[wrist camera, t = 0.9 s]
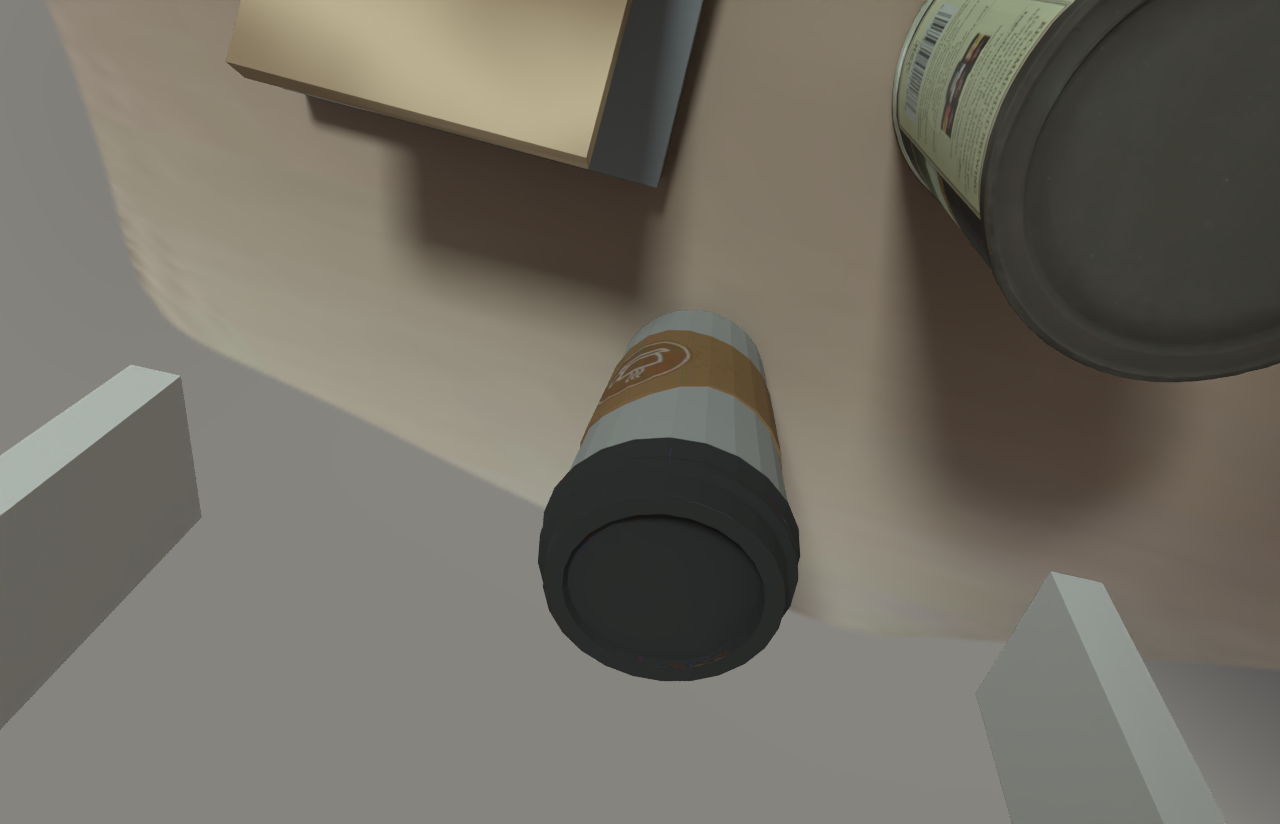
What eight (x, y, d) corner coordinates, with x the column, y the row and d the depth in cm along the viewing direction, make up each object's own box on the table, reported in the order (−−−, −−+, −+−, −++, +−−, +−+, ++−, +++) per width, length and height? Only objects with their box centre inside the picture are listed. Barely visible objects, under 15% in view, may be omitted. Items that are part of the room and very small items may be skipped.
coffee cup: (732, 249, 34) (721, 436, 21) (815, 404, 37) (850, 648, 24) (568, 333, 37) (470, 542, 24) (659, 470, 40) (616, 720, 27)
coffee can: (1184, 187, 31) (1469, 344, 18) (904, 242, 33) (994, 414, 21) (1206, -128, 26) (1609, -193, 14) (877, -38, 28) (973, -27, 16)
